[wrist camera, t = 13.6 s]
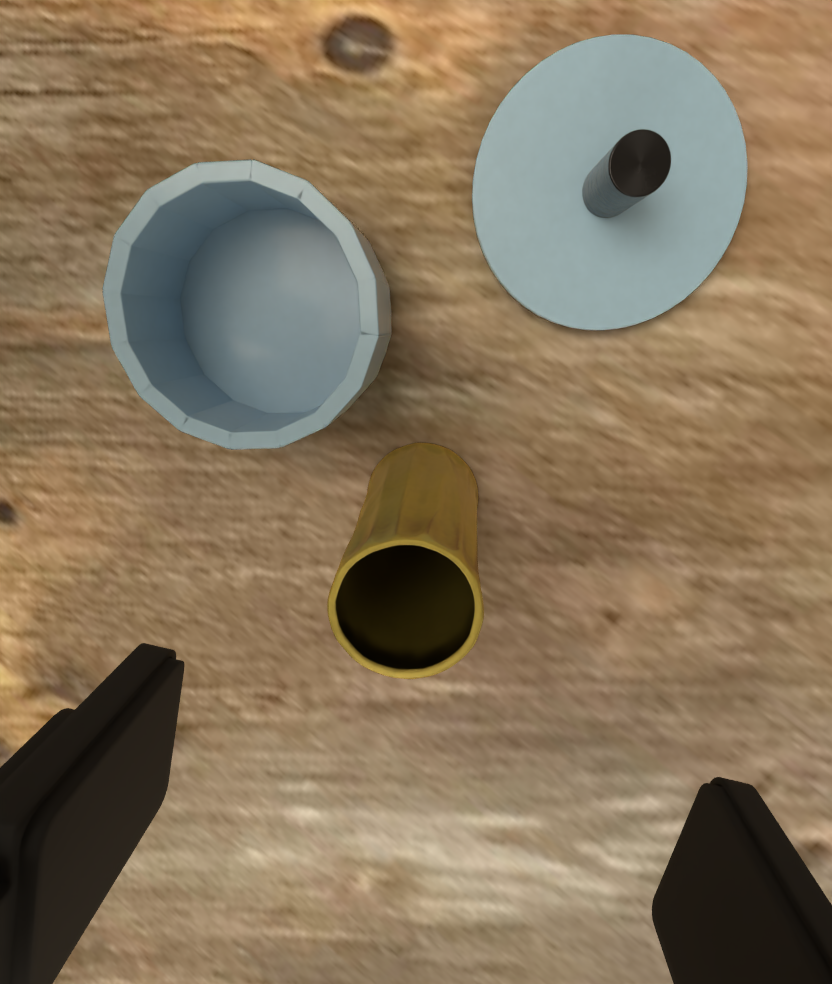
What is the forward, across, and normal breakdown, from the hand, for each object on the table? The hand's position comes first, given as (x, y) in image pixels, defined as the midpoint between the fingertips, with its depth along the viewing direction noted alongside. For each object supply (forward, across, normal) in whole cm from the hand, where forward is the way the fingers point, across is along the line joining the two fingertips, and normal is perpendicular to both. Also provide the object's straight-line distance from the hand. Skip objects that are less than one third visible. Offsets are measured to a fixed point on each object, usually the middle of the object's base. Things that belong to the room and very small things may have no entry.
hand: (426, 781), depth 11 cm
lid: (+23, -4, -15) cm, 28 cm away
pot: (+24, +10, -6) cm, 27 cm away
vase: (+24, +1, +2) cm, 24 cm away
